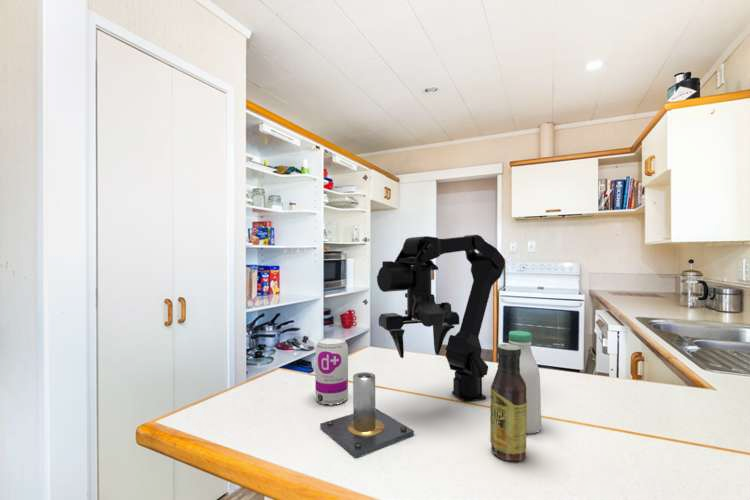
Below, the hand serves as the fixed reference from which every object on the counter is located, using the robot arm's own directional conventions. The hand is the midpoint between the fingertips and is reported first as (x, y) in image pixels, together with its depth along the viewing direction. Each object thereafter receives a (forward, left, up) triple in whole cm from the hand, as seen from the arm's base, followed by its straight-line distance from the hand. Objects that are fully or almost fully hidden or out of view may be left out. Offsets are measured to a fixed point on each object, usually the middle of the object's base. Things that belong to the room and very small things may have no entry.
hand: (419, 355), depth 84 cm
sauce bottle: (-7, +22, -13) cm, 27 cm away
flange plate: (+15, +5, -13) cm, 20 cm away
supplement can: (+18, -14, -13) cm, 26 cm away
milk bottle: (-17, +14, -13) cm, 26 cm away
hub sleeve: (+15, +5, -12) cm, 20 cm away
